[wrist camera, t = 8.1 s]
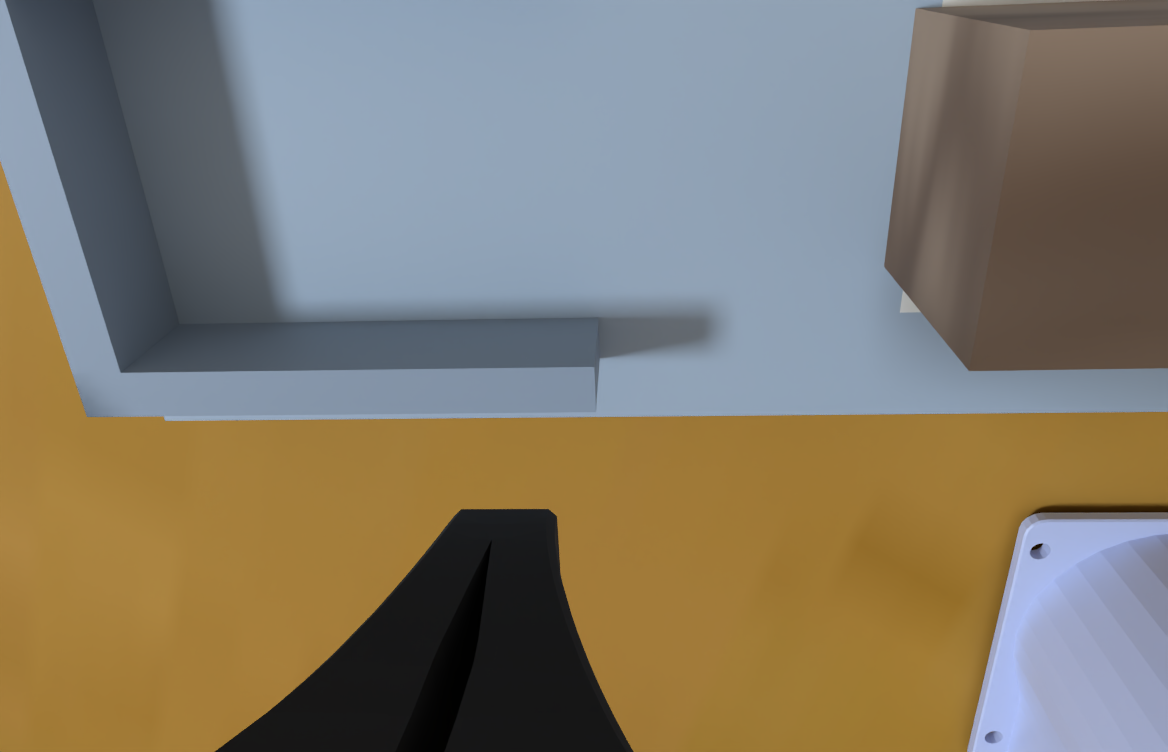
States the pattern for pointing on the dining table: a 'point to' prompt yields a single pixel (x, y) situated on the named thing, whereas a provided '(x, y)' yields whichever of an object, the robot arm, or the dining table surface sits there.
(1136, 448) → the dining table surface
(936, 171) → the walnut block
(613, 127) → the deck
